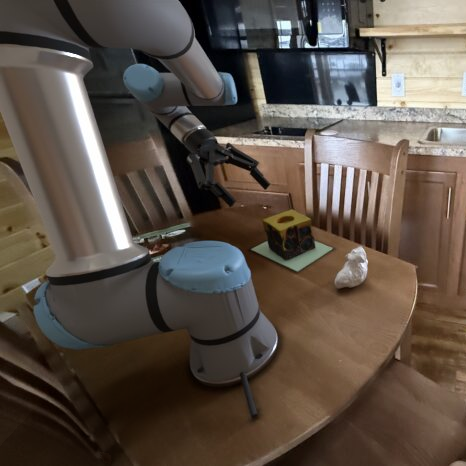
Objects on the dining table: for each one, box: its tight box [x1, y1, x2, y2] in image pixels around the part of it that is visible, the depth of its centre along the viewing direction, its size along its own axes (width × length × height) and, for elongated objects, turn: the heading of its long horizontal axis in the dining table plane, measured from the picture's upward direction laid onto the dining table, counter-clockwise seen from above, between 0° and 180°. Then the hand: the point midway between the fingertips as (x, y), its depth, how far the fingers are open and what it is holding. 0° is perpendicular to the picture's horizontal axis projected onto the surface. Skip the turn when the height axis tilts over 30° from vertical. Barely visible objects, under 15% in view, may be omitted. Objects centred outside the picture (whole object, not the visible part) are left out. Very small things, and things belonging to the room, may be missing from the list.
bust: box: [334, 245, 369, 290], centre depth 79 cm, size 12×8×11 cm
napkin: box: [250, 240, 334, 273], centre depth 94 cm, size 20×14×1 cm
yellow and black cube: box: [262, 209, 316, 260], centre depth 92 cm, size 10×10×10 cm
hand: (251, 195), depth 89 cm, fingers open, 13 cm apart
